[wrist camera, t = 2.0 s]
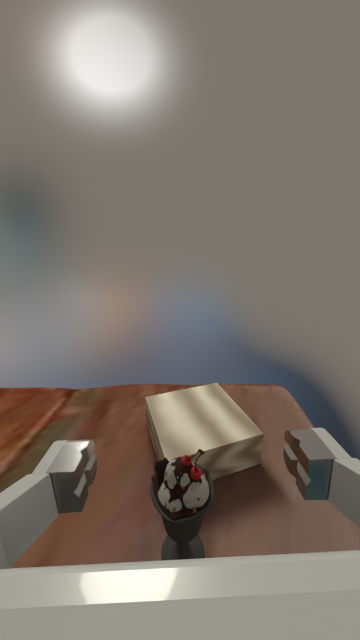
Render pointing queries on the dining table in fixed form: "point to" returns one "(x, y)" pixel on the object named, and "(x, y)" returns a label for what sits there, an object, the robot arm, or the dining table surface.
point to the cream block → (204, 429)
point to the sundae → (181, 504)
